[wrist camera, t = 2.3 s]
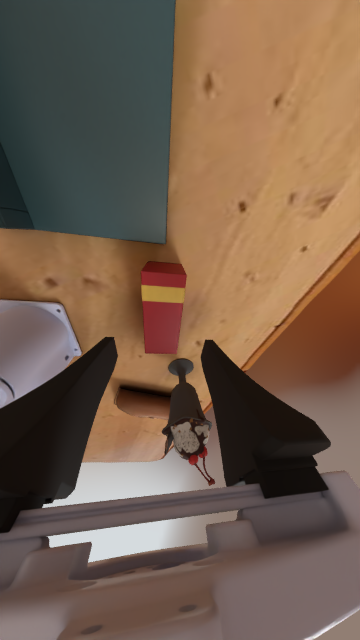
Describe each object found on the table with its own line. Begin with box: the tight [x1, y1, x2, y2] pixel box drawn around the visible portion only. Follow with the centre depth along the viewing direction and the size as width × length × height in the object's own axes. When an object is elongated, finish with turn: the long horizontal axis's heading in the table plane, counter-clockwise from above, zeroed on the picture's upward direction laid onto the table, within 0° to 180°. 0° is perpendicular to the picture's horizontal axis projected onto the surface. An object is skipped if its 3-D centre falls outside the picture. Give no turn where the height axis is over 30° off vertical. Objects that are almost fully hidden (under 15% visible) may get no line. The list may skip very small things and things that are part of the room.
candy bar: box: [141, 261, 187, 354], centre depth 16 cm, size 10×4×5 cm, turn 174°
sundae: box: [162, 359, 215, 486], centre depth 20 cm, size 7×7×15 cm
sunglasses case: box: [114, 387, 171, 420], centre depth 31 cm, size 18×7×7 cm, turn 66°
